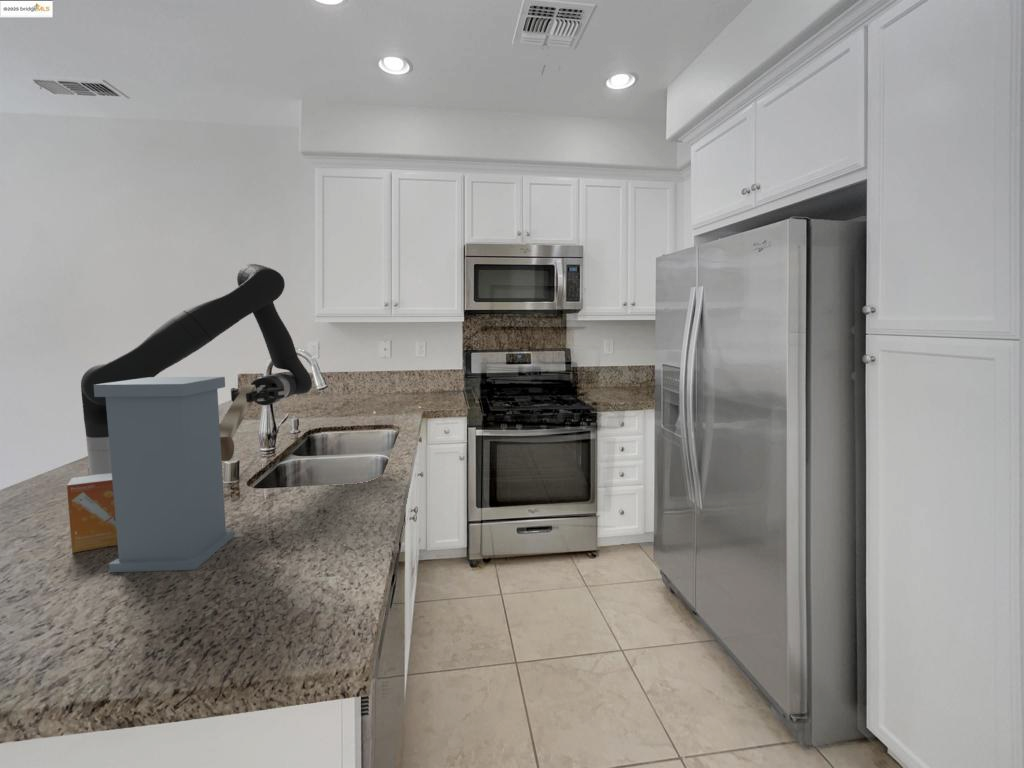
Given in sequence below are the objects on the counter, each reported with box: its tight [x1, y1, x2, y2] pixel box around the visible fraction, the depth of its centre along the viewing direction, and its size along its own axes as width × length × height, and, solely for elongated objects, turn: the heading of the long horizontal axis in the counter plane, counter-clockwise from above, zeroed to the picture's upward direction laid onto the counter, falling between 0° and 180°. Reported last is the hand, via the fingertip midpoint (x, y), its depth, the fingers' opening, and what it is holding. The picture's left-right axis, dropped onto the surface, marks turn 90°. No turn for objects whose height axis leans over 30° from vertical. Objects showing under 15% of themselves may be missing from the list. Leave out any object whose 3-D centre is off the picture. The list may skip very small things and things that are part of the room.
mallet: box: [219, 384, 256, 462], centre depth 114 cm, size 25×7×5 cm
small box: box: [66, 473, 118, 554], centre depth 98 cm, size 8×6×13 cm
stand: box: [94, 376, 235, 573], centre depth 92 cm, size 14×14×32 cm
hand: (241, 398), depth 119 cm, fingers closed on mallet, 2 cm apart
